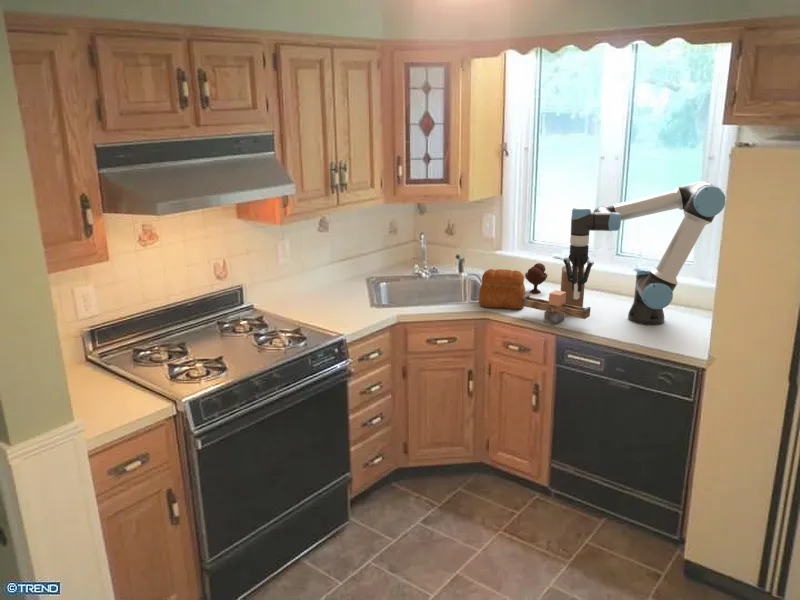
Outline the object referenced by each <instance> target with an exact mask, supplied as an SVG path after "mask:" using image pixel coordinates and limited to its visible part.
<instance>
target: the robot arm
mask: <svg viewBox="0 0 800 600" xmlns="http://www.w3.org/2000/svg"><path fill="white" fill-rule="evenodd" d="M725 199H726V195H725V193H724V191H722V189H721V188H720V187H719V186H717V185H714V184H713V183H710V182H708V181H705V180H704V181H695V182H692V183H688V184H685V185H681V186H677V187H676V188H675V189H674V190H671V191H667V192H663V193H662V192H661V193H657V194H653V195H650V196H644V197H642V198H636V199H632V200H628V201H624V202H620V203H619V202H618V203H615V204H611V205H607V206H605V205H599V206H597V207H596V208H595V209H594V210H593V211H591V207H588V206H576V207H574V208H573V209H572V210H571V217H570V218H571V219H570V221H571V222H570V238H569V239H570V240H569V241H570V245H569V255H568V257H566V258H564V259H563V260H562V261H563V263H564V266H566V272H567V277H568V281H569V282H571V283H572V291H574V299H576V300H577V299H579V297H580V292H581V291H582V284H584V283H585V284H586V283H587V282H588V279H589V277H590V272H591V269H592V267H593V266H594V264H595V263H594V261H591V260H590V258H589V243H590V232H591V231H597V232H598V231H600V232H601V231H603V232H613V231H614V232H615V231H619V230H620V228H621V223H622V221H626V220H631V219H636V218H640V217H645V216H649V215H653V214H658V213H663V212H666V211H667V212H668V211H671V210H675V209H676V210H677V209H679V210H680V211H682V212H683V214H684V216H683V218H682V220H681V223H680V224H679V226H678V228H677V230H676V232H675V233H674V236H673V237H672V239H671V241H670V243H669V244H668V246H667V248H666V250H665V252H664V254H663V255H662V257H661V259H660V261H659V262H658V265H657V266H656V268H639V269H637V270H636V274H635V287H634V297H633V302H632V305H631V307H630V308H629V311H628V314H627V315H628V316H627V319H628V320H629V321H630V322H633V323H636V324H640V325H646V326H658V325H661V324H663V323H664V322H665V312H664V309H665V308H666V307H668V306H669V305H670V304H671V303H672V301H673V296H674V290H675V289H676V287H677V285H678V280H677V277H678V275H679V273H680V271H681V270H682V268H683V267H684V265H685V263H686V261H687V259H688V257H689V256H690V253H692V250H693V248H694V247H695V245H696V243H697V241H698V240H699V237H700V236H701V234H702V232H703V230H704V229H705V227H706V226H707V225H710V224H712V222H713V221H714V219H715V217H716V216H717V215H718V214H720V213H721V212H722V211H723V210H724V208H725V207H726V202H725ZM571 264H572V265H571ZM585 265H586V268H585ZM571 267H572V268H573V272H572V270H571ZM583 269H585V273H584V277H583ZM577 273H578V281H577ZM576 282H578V283H576Z"/></svg>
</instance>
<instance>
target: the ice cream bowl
mask: <svg viewBox="0 0 800 600" xmlns="http://www.w3.org/2000/svg"><path fill="white" fill-rule="evenodd" d="M524 277H525V279H526V281H528V282H529V283H530V284H532V285H533V288H532V289H531V290H529V293H530V294H536V295H538V294H541V290H539V289H538V285H541V284H542V283H544V282H545V281H546V280H547V279H548V273H546V266H545V265H544V264H543V263H540V262H538V263H535V264H534V265H533V266H531V267H530V268H529V269H528V270H527V272H525V273H524Z"/></svg>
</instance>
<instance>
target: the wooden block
mask: <svg viewBox="0 0 800 600" xmlns="http://www.w3.org/2000/svg"><path fill="white" fill-rule="evenodd" d="M571 270H572V272H573V268H572V266H571ZM585 270H586V268H584V269H583V277H584V273H585ZM560 278H561V279H560V280H561V281H560V291H563V292H566V303H565V304H568V305H573V306H578V307H583V308H584V296H585V295H584V294H585V284H586V283H584V284H582V291H581V292H580V297H579V299H577V300H576V299H574V291H572V283H571V282H569V281H568V277H567V272H566V266H565V265H564V266H562V267H561V277H560ZM577 281H578V273H577ZM576 283H578V282H576Z"/></svg>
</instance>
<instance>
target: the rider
mask: <svg viewBox="0 0 800 600" xmlns="http://www.w3.org/2000/svg"><path fill="white" fill-rule="evenodd" d="M548 301H549V304H550V305H555V306H563V304H565V303H566V292H563V291H561V290H558V289H557V290H556V289H555V290H552V291H551V292H549V295H548Z"/></svg>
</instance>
